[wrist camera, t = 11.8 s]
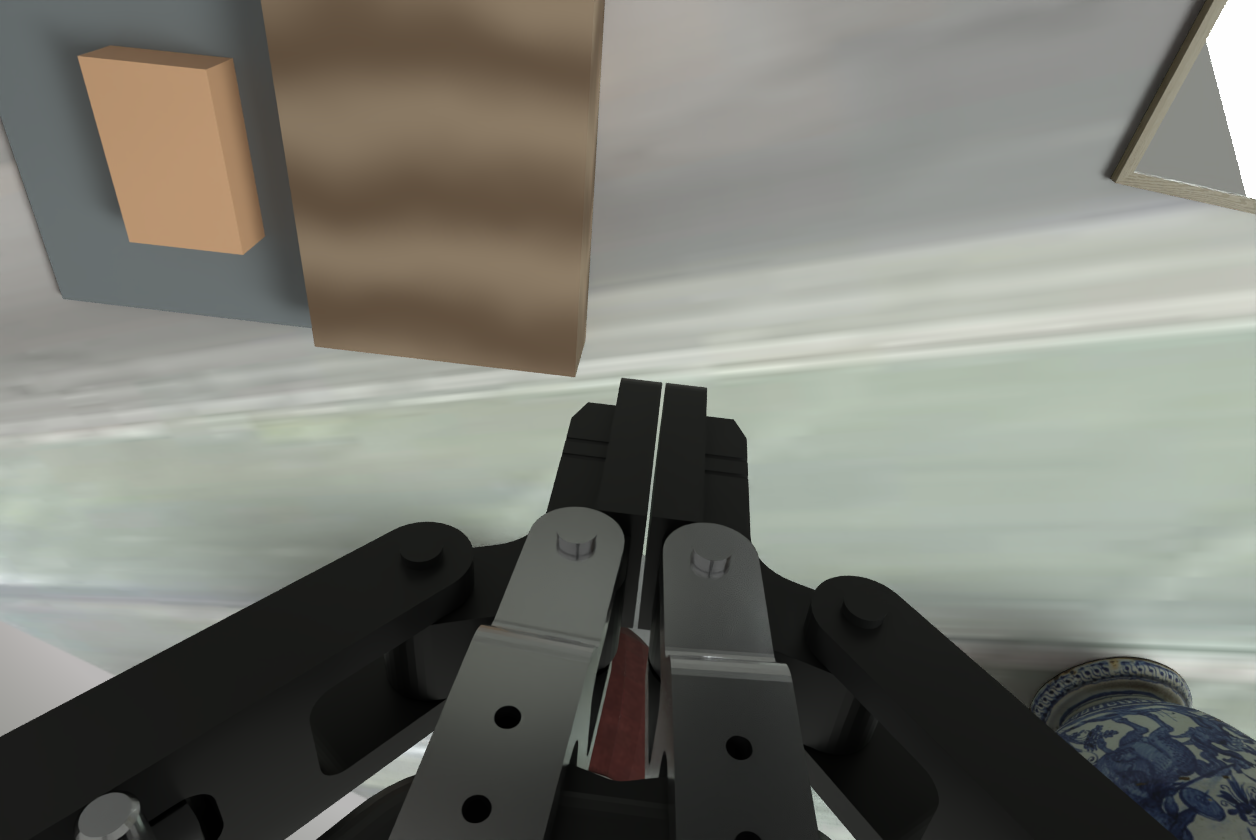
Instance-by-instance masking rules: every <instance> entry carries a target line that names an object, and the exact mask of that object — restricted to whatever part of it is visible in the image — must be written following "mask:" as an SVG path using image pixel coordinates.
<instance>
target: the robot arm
mask: <svg viewBox="0 0 1256 840" xmlns="http://www.w3.org/2000/svg"><path fill="white" fill-rule="evenodd" d="M661 389H662V383H661V382H653V381H644V380H636V379H627V378H621V382H620V387H619V393H618V398H617V403H616V406H615V405H606V404H598V403H590V402H588V403H587V404H586V405H585V406H584V407H583V408H582V409H581V410H579V411H578V412H577V413H576V414H575V415H574V416H573V417H572V419H571V422H570V426H569V430H568V434H567V438H566V441H565V445H564V449H563V452H562V457H561V460H560V464H559V467H558V471H557V475H556V479H555V482H554V486H553V490H552V494H551V497H550V501H549V505H548V509H547V512H546V514H544V515H543V516H541V517H540V518H539V519H538V520H537V521H536V522H535V523H534V524H533V525H532V527H531V529H530V531H529V534H528V535H526V536H524V537H523V538H520V539H518V540H515V541H512V542H509V543H505V544H499V545H492V546H483V547H475V548H472V545H471V542H470V541H469V539H468V538H467V537H466V536H465V535H464V534H463V533H462V532H461V531H459V530H458V529H456V528H454V527H452V526H449V525H446V524H442V523H436V522H418V523H413V524H408V525H405V526H402V527H399V528H397V529H395V530H393V531H391V532H389V533H387V534H385V535H383V536H381V537H379V538H377V539H375V540H374V541H372V542H370V543H368V544H366V545H364V546H362V547H360V548H358V549H356V550H355V551H353V552H351V553H349V554H347V555H345V556H343V557H341V558H339V559H337V560H336V561H334V562H332V563H330V564H328V565H326V566H324V567H322V568H320V569H318V570H317V571H315V572H313V573H311V574H309V575H307V576H305V577H303V578H301V579H299V580H298V581H296V582H294V583H292V584H290V585H288V586H286V587H284V588H282V589H280V590H279V591H277V592H275V593H273V594H271V595H269V596H267V597H265V598H263V599H261V600H260V601H258V602H256V603H254V604H252V605H250V606H248V607H246V608H244V609H242V610H240V611H239V612H237V613H235V614H233V615H231V616H229V617H227V618H225V619H223V620H221V621H220V622H218V623H216V624H214V625H212V626H210V627H208V628H206V629H204V630H202V631H201V632H199V633H197V634H195V635H193V636H191V637H189V638H187V639H185V640H183V641H182V642H180V643H178V644H176V645H174V646H172V647H170V648H168V649H166V650H164V651H163V652H161V653H159V654H157V655H155V656H153V657H151V658H149V659H147V660H145V661H144V662H142V663H140V664H138V665H136V666H134V667H132V668H130V669H128V670H126V671H125V672H123V673H121V674H119V675H117V676H115V677H113V678H111V679H109V680H107V681H105V682H104V683H102V684H100V685H98V686H96V687H94V688H92V689H90V690H88V691H87V692H85V693H83V694H81V695H79V696H77V697H75V698H73V699H72V700H69V701H68V702H66V703H64V704H62V705H60V706H58V707H56V708H54V709H52V710H50V711H48V712H47V713H45V714H43V715H41V716H39V717H37V718H36V719H33V720H31V721H30V722H28V723H26V724H24V725H22V726H20V727H18V728H16V729H14V730H12V731H11V732H9V733H7V734H5V735H3V736H1V737H0V840H284V839H286V838H287V837H289V836H290V835H291V834H293V833H294V832H296V831H297V830H298V829H300V828H301V827H302V826H304V825H305V824H307V823H308V822H309V821H311V820H312V819H313V818H315V817H316V816H318V815H319V814H320V813H322V812H323V811H324V810H326V809H327V808H329V807H330V806H331V805H333V804H334V803H335V802H337V801H338V800H340V799H341V798H342V797H344V796H345V795H346V794H348V793H349V792H351V791H352V790H353V789H355V788H356V787H357V786H359V785H360V784H362V783H363V782H364V781H366V780H367V779H368V778H370V777H371V776H373V775H374V774H375V773H377V772H378V771H379V770H381V769H382V768H384V767H385V766H386V765H388V764H389V763H390V762H392V761H393V760H395V759H396V758H397V757H399V756H400V755H401V754H403V753H404V752H406V751H407V750H408V749H410V748H411V747H412V746H414V745H415V744H417V743H418V742H419V741H421V740H422V739H423V738H425V737H426V736H428V735H429V734H430V733H432V732H433V731H434V732H433V734H432V736H431V739H430V741H429V744H428V746H427V748H426V751H425V753H424V756H423V758H422V760H421V763H420V765H419V768H418V770H417V772H416V775H414V776H411V777H408V778H405V779H403V780H401V781H399V782H397V783H395V784H393V785H391V786H389V787H387V788H385V789H383V790H382V791H380V792H379V793H377V794H375V795H374V796H372V797H370V798H369V799H367V800H366V801H365V802H363V803H362V804H361V805H359V806H358V807H357V808H355V809H354V810H353V811H352V812H350V813H349V814H348V815H347V816H345V817H344V818H343V819H342V820H340V821H339V822H338V823H337V824H335V825H334V826H333V827H332V828H330V829H329V830H328V831H326V832H325V833H324V834H323V835H321V836H320V837H319V838H318V839H316V840H831V839H830V838H829V837H827V836H826V835H825V834H823V833H822V832H820V831H819V830H818V827H817V821H816V816H815V810H814V804H813V798H812V792H811V787H812V788H813V789H814V790H815V792H816V793H817V794H818V795H819V796H820V797H821V799H822V800H823V801H824V802H825V803H826V805H827V806H828V807H829V808H830V809H831V810H832V812H833V813H834V814H835V815H836V816H837V818H838V819H839V820H840V821H841V822H842V824H843V825H844V826H845V827H846V828H847V829H848V831H849V832H850V833H851V834H852V835H853V837H854V838H855V839H856V840H1178V839H1177V838H1176V837H1175V836H1174V835H1173V834H1172V833H1170V832H1169V831H1168V830H1167V829H1166V828H1165V827H1164V826H1162V825H1161V824H1160V823H1159V822H1158V821H1157V820H1156V819H1154V818H1153V817H1152V816H1151V815H1150V814H1149V813H1148V812H1146V811H1145V810H1144V809H1143V808H1142V807H1141V806H1139V805H1138V804H1137V803H1136V802H1135V801H1134V800H1133V799H1131V798H1130V797H1129V796H1128V795H1127V794H1126V793H1125V792H1123V791H1122V790H1121V789H1120V788H1119V787H1118V786H1117V785H1115V784H1114V783H1113V782H1112V781H1111V780H1110V779H1109V778H1107V777H1106V776H1105V775H1104V774H1103V773H1102V772H1100V771H1099V770H1098V769H1097V768H1096V767H1095V766H1094V765H1092V764H1091V763H1090V762H1089V761H1088V760H1087V759H1086V758H1084V757H1083V756H1082V755H1081V754H1080V753H1079V752H1078V751H1076V750H1075V749H1074V748H1073V747H1072V746H1071V745H1070V744H1068V743H1067V742H1066V741H1065V740H1064V739H1063V738H1061V737H1060V736H1059V735H1058V734H1057V733H1056V732H1055V731H1053V730H1052V729H1051V728H1050V727H1049V726H1048V725H1047V724H1045V723H1044V722H1043V721H1042V720H1041V719H1040V718H1039V717H1037V716H1036V715H1035V714H1034V713H1033V712H1032V711H1031V710H1029V709H1028V708H1027V707H1026V706H1025V705H1024V704H1022V703H1021V702H1020V701H1019V700H1018V699H1017V698H1016V697H1014V696H1013V695H1012V694H1011V693H1010V692H1009V691H1008V690H1006V689H1005V688H1004V687H1003V686H1002V685H1001V684H1000V683H998V682H997V681H996V680H995V679H994V678H993V677H991V676H990V675H989V674H988V673H987V672H986V671H985V670H983V669H982V668H981V667H980V666H979V665H978V664H977V663H975V662H974V661H973V660H972V659H971V658H970V657H969V656H967V655H966V654H965V653H964V652H963V651H962V650H961V649H959V648H958V647H957V646H956V645H955V644H954V643H952V642H951V641H950V640H949V639H948V638H947V637H946V636H944V635H943V634H942V633H941V632H940V631H939V630H938V629H936V628H935V627H934V626H933V625H932V624H931V623H930V622H928V621H927V620H926V619H925V618H924V617H923V616H922V615H920V614H919V613H918V612H917V611H916V610H915V609H913V608H912V607H911V606H910V605H909V604H908V603H907V602H905V601H904V600H903V599H902V598H901V597H900V596H899V595H897V594H896V593H895V592H893V591H892V590H891V589H889V588H888V587H886V586H884V585H882V584H880V583H878V582H876V581H873V580H870V579H867V578H863V577H858V576H839V577H834V578H831V579H828V580H826V581H824V582H823V583H821V584H820V585H819V586H818V587H817V588H816V590H813V589H811V588H808V587H805V586H803V585H800V584H797V583H795V582H792V581H790V580H788V579H785V578H783V577H782V576H780V575H778V574H776V573H775V572H773V571H772V570H771V569H769V568H768V567H767V566H766V565H765V564H764V563H763V562H762V561H761V560H760V559H759V557H758V553H757V551H756V549H755V547H754V546H753V545H752V543H751V537H750V512H749V487H748V463H747V439H746V437H745V436H744V434H743V433H742V431H741V430H740V428H739V427H738V425H737V424H736V422H735V421H734V419H725V418H717V417H708V416H706V407H707V388H705V387H696V386H688V385H679V384H671V383H666V386H665V394H664V402H663V410H662V418H661V426H660V434H659V442H658V450H657V458H656V466H655V474H654V483H653V492H652V501H651V510H650V519H649V528H648V537H647V547H646V556H645V565H644V574H643V583H642V592H641V601H640V610H639V619H638V629H643V630H650V641H649V652H648V659H647V666H646V674H645V779H639V780H630V781H615V780H611V779H608V778H605V777H603V776H600V775H598V774H595V773H593V772H590V771H588V768H589V764H590V760H591V755H592V751H593V747H594V742H595V738H596V734H597V729H598V725H599V721H600V716H601V712H602V708H603V703H604V699H605V695H606V690H607V686H608V682H609V677H610V673H611V666H612V660H613V658H614V657H615V655H616V653H617V649H618V643H619V635H620V628H621V627H626V628H633V626H634V618H635V609H636V601H637V593H638V585H639V577H640V569H641V561H642V553H643V544H644V536H645V528H646V520H647V512H648V503H649V494H650V485H651V477H652V468H653V459H654V450H655V442H656V433H657V424H658V415H659V407H660V398H661ZM810 786H811V787H810Z"/></svg>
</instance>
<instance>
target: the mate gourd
mask: <svg viewBox="0 0 1256 840" xmlns="http://www.w3.org/2000/svg"><path fill="white" fill-rule="evenodd" d="M644 565H645V556H644V555H642V561H641V569H640V577H639V585H638V593H637V601H636V609H635V618H634V626H633V628H626V627H621V628H620V635H619V643H618V649H617V653H616V655H615V657H614V658H613V660H612V666H611V673H610V677H609V682H608V686H607V690H606V695H605V699H604V703H603V708H602V712H601V716H600V721H599V725H598V729H597V734H596V738H595V742H594V747H593V751H592V755H591V760H590V764H589V768H588V771H590V772H593V773H595V774H598V775H600V776H603V777H605V778H608V779H611V780H615V781H630V780H639V779H645V674H646V666H647V659H648V652H649V641H650V630H643V629H638V619H639V610H640V601H641V592H642V583H643V574H644Z"/></svg>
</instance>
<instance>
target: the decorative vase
mask: <svg viewBox="0 0 1256 840" xmlns="http://www.w3.org/2000/svg"><path fill="white" fill-rule="evenodd" d="M1030 710H1031V711H1032V712H1033V713H1034V714H1035V715H1036V716H1037V717H1039V718H1040V719H1041V720H1042V721H1043V722H1044V723H1045V724H1047V725H1048V726H1049V727H1050V728H1051V729H1052V730H1053V731H1055V732H1056V733H1057V734H1058V735H1059V736H1060V737H1061V738H1063V739H1064V740H1065V741H1066V742H1067V743H1068V744H1070V745H1071V746H1072V747H1073V748H1074V749H1075V750H1076V751H1078V752H1079V753H1080V754H1081V755H1082V756H1083V757H1084V758H1086V759H1087V760H1088V761H1089V762H1090V763H1091V764H1092V765H1094V766H1095V767H1096V768H1097V769H1098V770H1099V771H1100V772H1102V773H1103V774H1104V775H1105V776H1106V777H1107V778H1109V779H1110V780H1111V781H1112V782H1113V783H1114V784H1115V785H1117V786H1118V787H1119V788H1120V789H1121V790H1122V791H1123V792H1125V793H1126V794H1127V795H1128V796H1129V797H1130V798H1131V799H1133V800H1134V801H1135V802H1136V803H1137V804H1138V805H1139V806H1141V807H1142V808H1143V809H1144V810H1145V811H1146V812H1148V813H1149V814H1150V815H1151V816H1152V817H1153V818H1154V819H1156V820H1157V821H1158V822H1159V823H1160V824H1161V825H1162V826H1164V827H1165V828H1166V829H1167V830H1168V831H1169V832H1170V833H1172V834H1173V835H1174V836H1175V837H1176V838H1177V839H1178V840H1256V741H1255V740H1253V739H1252V738H1250V737H1249V736H1247V735H1246V734H1244V733H1242V732H1241V731H1239V730H1237V729H1236V728H1234V727H1232V726H1230V725H1229V724H1227V723H1225V722H1223V721H1221V720H1219V719H1217V718H1215V717H1213V716H1210V715H1208V714H1206V713H1203V712H1201V711H1199V710H1196V709H1193V708H1192V696H1191V693H1190V690H1189V688H1188V686H1187V684H1186V682H1185V680H1184V679H1183V678H1182V677H1181V676H1180V675H1179V674H1178V673H1177V672H1176V671H1174V670H1173V669H1171V668H1169V667H1167V666H1164V665H1162V664H1160V663H1157V662H1153V661H1150V660H1146V659H1140V658H1130V657H1123V658H1109V659H1102V660H1096V661H1092V662H1088V663H1085V664H1082V665H1079V666H1076V667H1073V668H1071V669H1069V670H1067V671H1065V672H1063V673H1061V674H1059V675H1058V676H1056V677H1054V678H1053V679H1051V680H1050V681H1049V682H1047V683H1046V684H1045V685H1044V686H1043V687H1042V688H1041V689H1040V690H1039V691H1038V693H1037V694H1036V696H1035V698H1034V699H1033V701H1032V705H1031V708H1030Z"/></svg>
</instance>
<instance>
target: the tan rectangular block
mask: <svg viewBox="0 0 1256 840" xmlns="http://www.w3.org/2000/svg"><path fill="white" fill-rule="evenodd" d="M78 60H79V64H80V67H81V71H82V74H83V78H84V81H85V85H86V88H87V92H88V96H89V99H90V103H91V106H92V110H93V113H94V117H95V121H96V124H97V128H98V131H99V135H100V138H101V142H102V145H103V149H104V153H105V156H106V160H107V163H108V167H109V170H110V174H111V177H112V181H113V185H114V188H115V192H116V195H117V199H118V202H119V206H120V210H121V213H122V217H123V220H124V224H125V227H126V231H127V234H128V238H129V242H134V243H143V244H152V245H160V246H169V247H178V248H187V249H196V250H204V251H213V252H222V253H231V254H239V255H244V254H245V253H246V252H247V251H248V250H250V249H251V248H252V247H253V246H254V245H256V244H257V243H258V242H259V241H260V240H261V239H263V238H264V237H265V233H264V227H263V222H262V216H261V211H260V205H259V200H258V194H257V189H256V183H255V178H254V172H253V166H252V161H251V155H250V150H249V144H248V139H247V133H246V128H245V122H244V117H243V111H242V106H241V100H240V95H239V89H238V84H237V78H236V73H235V67H234V62H233V58H225V57H216V56H207V55H197V54H188V53H178V52H169V51H159V50H150V49H140V48H131V47H122V46H112V45H110V46H107V47H104V48H101V49H98V50H95V51H91V52H88V53H85V54H82V55H79V56H78Z"/></svg>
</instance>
